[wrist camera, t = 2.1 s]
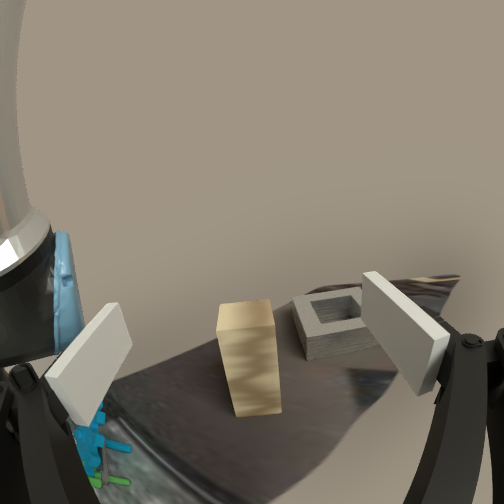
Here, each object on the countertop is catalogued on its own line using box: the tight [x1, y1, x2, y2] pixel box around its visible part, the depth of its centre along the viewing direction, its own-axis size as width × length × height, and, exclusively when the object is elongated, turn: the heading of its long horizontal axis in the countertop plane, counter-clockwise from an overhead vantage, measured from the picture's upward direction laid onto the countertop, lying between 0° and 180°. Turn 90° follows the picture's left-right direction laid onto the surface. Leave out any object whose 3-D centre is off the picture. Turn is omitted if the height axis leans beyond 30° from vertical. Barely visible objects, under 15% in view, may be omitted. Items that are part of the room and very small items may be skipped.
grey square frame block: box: [292, 287, 381, 361], centre depth 40 cm, size 12×12×4 cm
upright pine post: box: [216, 299, 282, 417], centre depth 27 cm, size 5×5×12 cm
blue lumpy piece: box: [74, 400, 131, 488], centre depth 19 cm, size 11×6×10 cm
